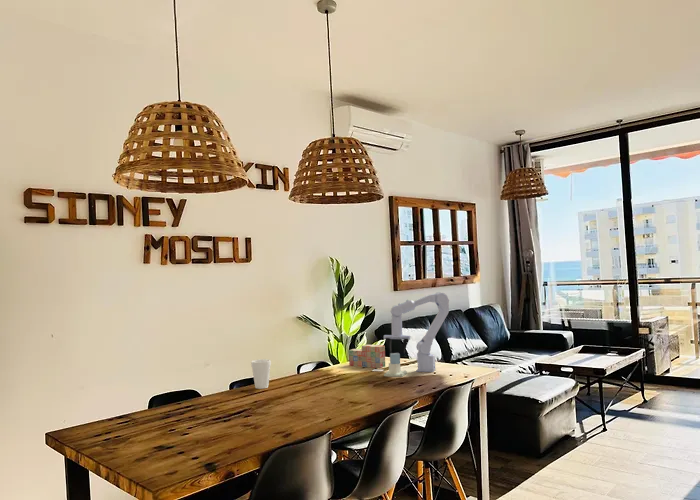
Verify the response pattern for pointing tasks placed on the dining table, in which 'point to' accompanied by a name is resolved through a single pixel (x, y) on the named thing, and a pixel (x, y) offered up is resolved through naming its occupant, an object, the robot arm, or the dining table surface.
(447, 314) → the robot arm
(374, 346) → the stack of blocks
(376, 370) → the page
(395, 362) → the brick blue
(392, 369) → the brick cream
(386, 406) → the dining table surface
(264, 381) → the foam cup
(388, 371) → the build plate
